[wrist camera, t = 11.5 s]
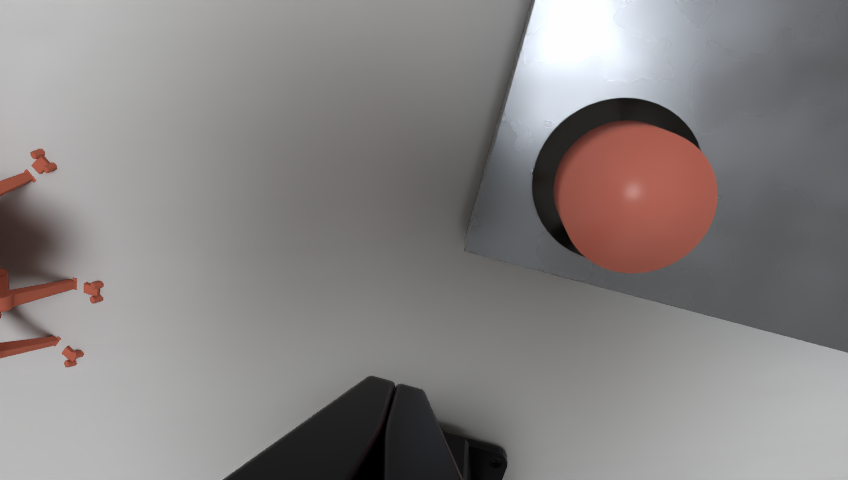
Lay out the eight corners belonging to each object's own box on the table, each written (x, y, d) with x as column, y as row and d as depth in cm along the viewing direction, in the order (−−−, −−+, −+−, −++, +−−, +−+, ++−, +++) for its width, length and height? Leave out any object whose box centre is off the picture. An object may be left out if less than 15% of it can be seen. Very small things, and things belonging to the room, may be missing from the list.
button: (660, 263, 17) (682, 288, 15) (536, 231, 17) (542, 252, 15) (712, 139, 16) (743, 150, 14) (578, 105, 16) (590, 111, 14)
